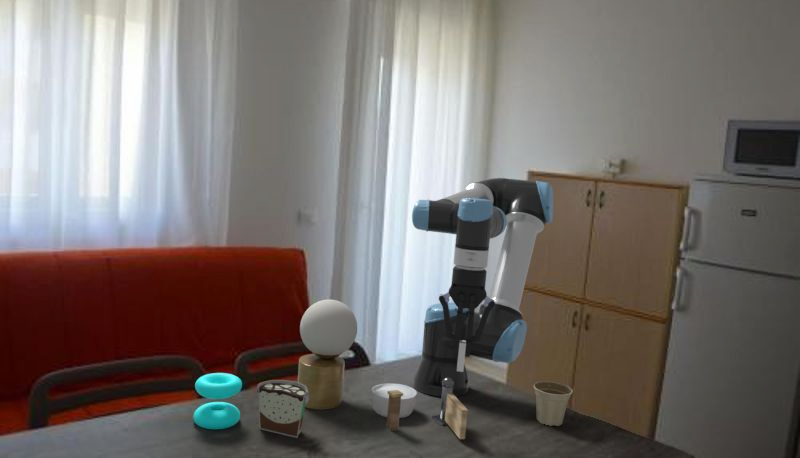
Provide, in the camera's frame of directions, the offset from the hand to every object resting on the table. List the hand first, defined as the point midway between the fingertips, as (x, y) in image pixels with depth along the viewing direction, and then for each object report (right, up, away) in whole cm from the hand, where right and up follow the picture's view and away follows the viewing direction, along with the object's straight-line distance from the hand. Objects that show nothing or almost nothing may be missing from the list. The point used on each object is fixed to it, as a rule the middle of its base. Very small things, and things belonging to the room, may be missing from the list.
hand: (460, 369), depth 151 cm
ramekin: (-15, -13, +11) cm, 23 cm away
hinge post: (-3, -14, +7) cm, 16 cm away
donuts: (-54, -11, -4) cm, 55 cm away
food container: (-39, -12, -4) cm, 41 cm away
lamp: (-33, -11, +15) cm, 38 cm away
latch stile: (-15, -13, 0) cm, 20 cm away
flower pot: (+23, -16, +12) cm, 30 cm away
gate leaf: (-1, -14, +1) cm, 14 cm away
